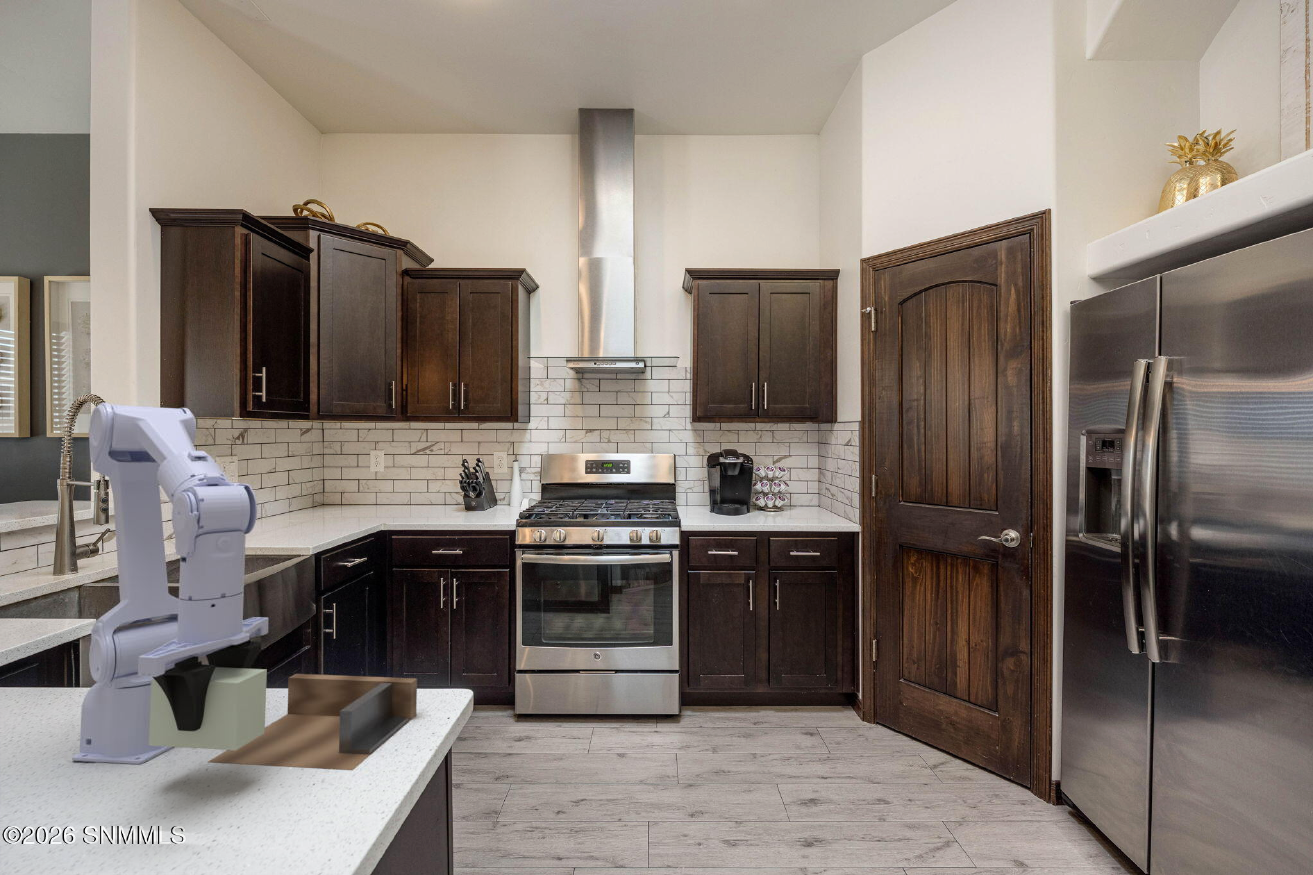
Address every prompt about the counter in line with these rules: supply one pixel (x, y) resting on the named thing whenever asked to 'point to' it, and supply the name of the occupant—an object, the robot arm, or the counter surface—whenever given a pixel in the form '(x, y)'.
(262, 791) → the counter surface
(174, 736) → the pale green rectangular block
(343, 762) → the wooden display base
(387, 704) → the bookend
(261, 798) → the counter surface
